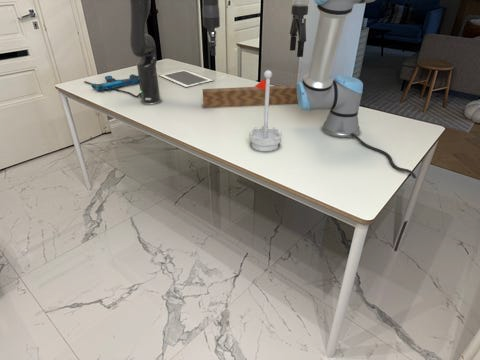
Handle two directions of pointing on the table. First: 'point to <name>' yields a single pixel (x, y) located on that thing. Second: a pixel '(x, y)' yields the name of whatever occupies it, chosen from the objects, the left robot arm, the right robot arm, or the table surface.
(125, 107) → the table surface
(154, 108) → the table surface
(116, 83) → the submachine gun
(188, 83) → the tablet
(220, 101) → the beam
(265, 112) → the flag stand
